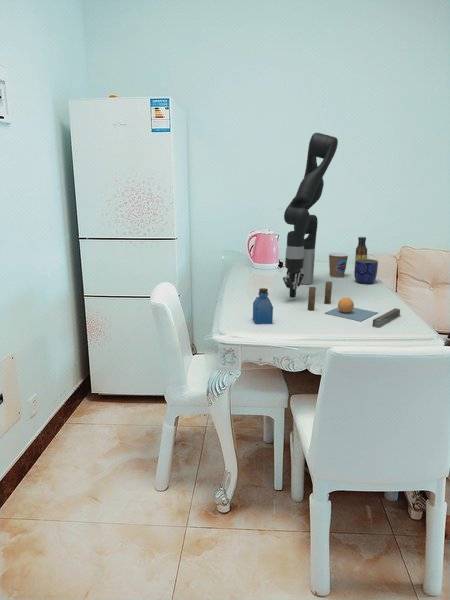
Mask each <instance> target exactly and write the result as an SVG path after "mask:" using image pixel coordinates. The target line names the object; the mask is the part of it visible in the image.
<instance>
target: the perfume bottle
mask: <svg viewBox="0 0 450 600" xmlns="http://www.w3.org/2000/svg"><path fill="white" fill-rule="evenodd" d="M258 290H259V291H258V296H256V298H255V299H254V301H253V302H252V303H253V304H252V321H253V322H254V325H273V319H274V317H273V316H274V315H273V312H274V307H273V304H272V302H271V300H270V298H269V297H268V296H269V292H268V291H269V290H268V288H264V287H263V288H258Z"/></svg>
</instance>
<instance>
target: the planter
mask: <svg viewBox="0 0 450 600" xmlns="http://www.w3.org/2000/svg"><path fill="white" fill-rule="evenodd" d="M378 267H379V261H378V260H377V259H373V258H371V259H370V258H367V259H356V260H355V259H354V270H353V271H354V272H353V274H354V276H353V277H354V279H355V281H356V283H359V284H362V285H370V284H373V283H374V282H375V281H376V279H377V275H378Z"/></svg>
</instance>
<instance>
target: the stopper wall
mask: <svg viewBox="0 0 450 600" xmlns="http://www.w3.org/2000/svg"><path fill="white" fill-rule="evenodd" d="M400 315H401V309H400V308H393V309H391V310H389V311H387V312H384V314H382V315H379V316H378V317H375V318H373V319H372V327H373V328H377V329H378V328H380V327H381V326H384V325H385V324H387V323H389V322H390V321H393V320H394V319H396V318H398V317H400Z"/></svg>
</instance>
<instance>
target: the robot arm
mask: <svg viewBox="0 0 450 600" xmlns="http://www.w3.org/2000/svg"><path fill="white" fill-rule="evenodd" d="M338 141H339V140H338V138H337V137H335V136H332V135H329V134H325V133H324V134H323V133H321V132H314V133H313V134H312V135H311V137H310V139H309V142H308V148H307V149H308V151H307V156H306V157H307V158H306V166H305V171H304V176H303V179H302V180H301V181H300V184H299V186H298V189H297V191H296V194H295V196H294V197H293V198H292V200H291V201H290V202H289V204H288V205H287V206H286V208H285V211H284V214H283V219H284V222H285V224H287V225H291V226H293V230H290V231H288V233H287V235H286V248H285V259H284V263H285V264H284V267H285V269H287V271H286V275H285V276H284V277H283V276H282V281H283V282H284V284H285V287H286V288H287V289H289V298H290V299H291V298H292V299H294V298H295V297H297V296H296V295H297V289H298V287H300V285H312V284H313V283H314V272H315V271H314V270H315V258H316V256H315V255H316V245H317V243H316V242H317V232H318V223H319V222H318V217H317V215H316V214H310V211H309V210H310V209H312V207H313V206H314V205H315V204H316V203H317V202H318V201H319V200H320V198H321V197H322V194H323V189H324V183H325V182H324V178H323V177H324V175H325V174H326V172H327V170H328V168H329V166H330V164H331V162H332V160H333V158H334V157H335V155H336V153H337V149H338V145H339V144H338V143H339V142H338ZM317 158H318V159H322V161H321V162H320V164H319V165H318V161H317ZM306 235H307V237H305V236H306Z"/></svg>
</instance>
